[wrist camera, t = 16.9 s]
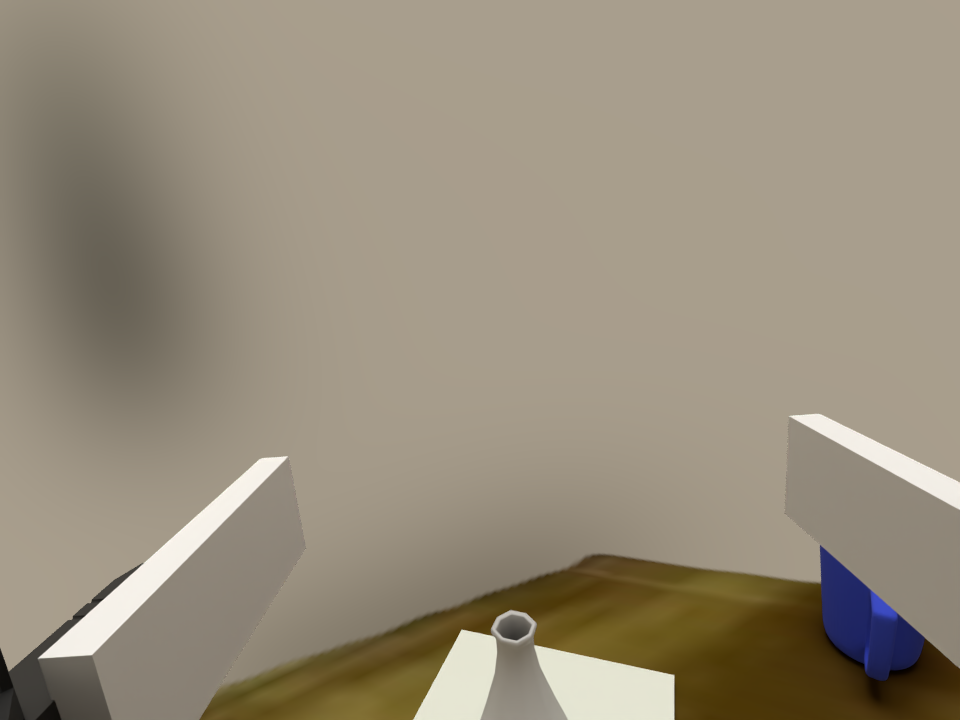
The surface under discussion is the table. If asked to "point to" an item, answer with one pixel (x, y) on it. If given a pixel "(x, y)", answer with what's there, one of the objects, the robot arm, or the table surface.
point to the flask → (519, 674)
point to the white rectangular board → (573, 679)
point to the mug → (865, 622)
